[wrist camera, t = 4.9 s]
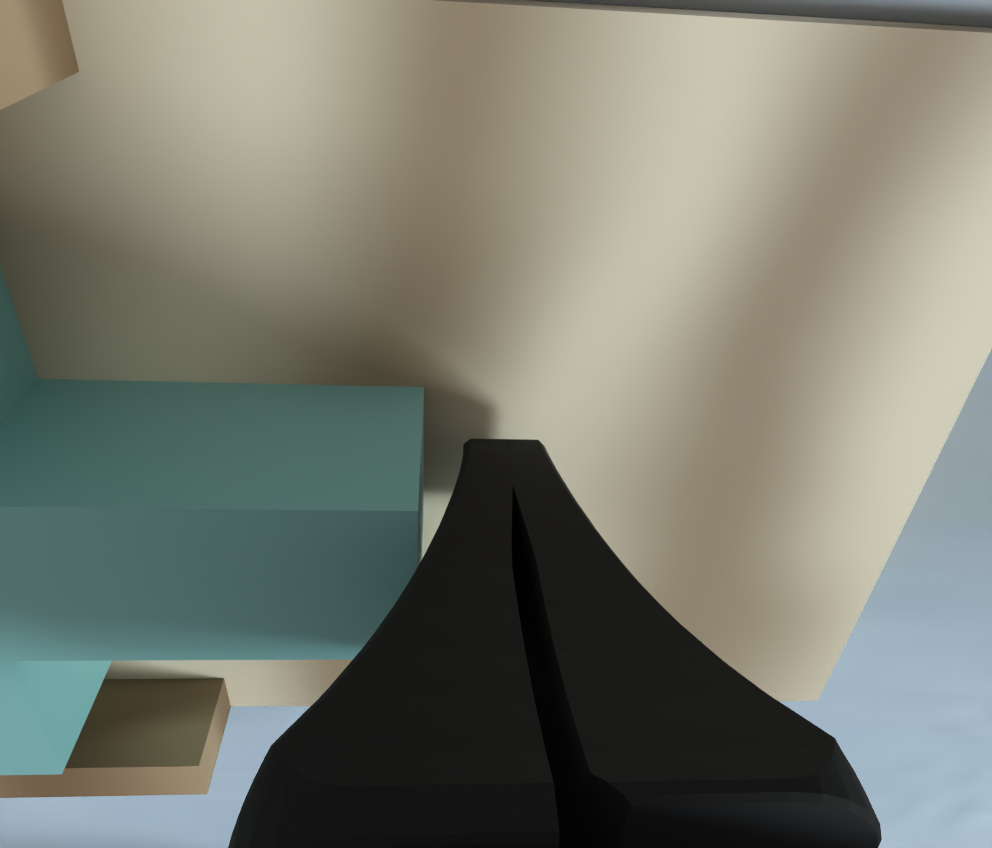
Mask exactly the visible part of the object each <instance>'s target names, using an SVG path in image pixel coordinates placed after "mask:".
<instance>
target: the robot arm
mask: <svg viewBox="0 0 992 848" xmlns="http://www.w3.org/2000/svg"><path fill="white" fill-rule="evenodd" d="M881 840H882V839H881V829H880V823H879V821H878V819H877V817H876V815H875V812H874V810H873V808H872V806H871V804H870V801H869V799H868V797H867V795H866V793H865V791H864V789H863V787H862V785H861V783H860V781H859V779H858V777H857V775H856V774H855V772H854V770H853V768H852V767H851V765H850V763H849V762H848V760H847V759H846V757H845V755H844V754H843V752H842V750H841V749H840V747H839V745H838V743H837V741H836V739H835V738H834V737H832V736H831V735H829V734H828V733H826V732H825V731H823V730H821V729H820V728H818V727H817V726H815V725H814V724H812V723H811V722H809V721H808V720H806V719H805V718H803V717H802V716H800V715H799V714H797V713H795V712H794V711H792V710H791V709H789V708H788V707H786V706H785V705H783V704H782V703H780V702H779V701H777V700H776V699H774V698H773V697H771V696H770V695H768V694H767V693H765V692H764V691H763V690H761V689H760V688H759V687H757V686H756V685H755V684H753V683H752V682H751V681H749V680H748V679H747V678H745V677H744V676H743V675H741V674H740V673H739V672H737V671H736V670H735V669H733V668H732V667H731V666H729V665H728V664H727V663H726V662H724V661H723V660H722V659H721V658H719V657H718V656H717V655H716V654H715V653H714V652H712V651H711V650H710V649H709V648H708V647H707V646H705V645H704V644H703V643H702V642H701V641H700V640H698V639H697V638H696V637H695V636H694V635H693V634H691V633H690V632H689V631H688V630H687V629H686V628H685V627H683V626H682V625H681V624H680V623H679V622H678V621H677V620H676V619H675V618H674V617H673V616H672V615H671V614H670V613H669V612H668V611H667V610H666V609H665V608H664V607H663V606H661V605H660V603H659V602H658V601H657V600H656V599H655V598H654V597H653V596H652V595H651V594H650V593H649V592H648V591H647V590H646V589H645V588H644V587H643V586H642V585H641V583H640V582H639V581H638V580H637V579H636V578H635V577H634V576H633V574H632V573H631V572H630V571H629V570H628V569H627V567H626V566H625V565H624V564H623V563H622V562H621V560H620V559H619V558H618V557H617V555H616V554H615V553H614V552H613V550H612V549H611V548H610V547H609V545H608V544H607V543H606V542H605V540H604V539H603V538H602V536H601V535H600V534H599V532H598V531H597V530H596V528H595V527H594V525H593V524H592V523H591V521H590V520H589V518H588V517H587V515H586V514H585V513H584V511H583V510H582V508H581V507H580V506H579V504H578V503H577V501H576V500H575V498H574V497H573V495H572V493H571V492H570V490H569V489H568V487H567V485H566V484H565V482H564V481H563V479H562V477H561V476H560V474H559V472H558V471H557V469H556V467H555V465H554V464H553V462H552V460H551V458H550V456H549V454H548V452H547V450H546V448H545V446H544V445H543V444H542V443H541V442H540V441H539V440H528V439H469V440H468V441H467V442H465V443H464V444H463V457H462V463H461V467H460V471H459V475H458V478H457V481H456V484H455V487H454V490H453V493H452V496H451V498H450V501H449V503H448V506H447V508H446V510H445V513H444V515H443V518H442V520H441V522H440V525H439V527H438V529H437V531H436V533H435V535H434V537H433V539H432V541H431V543H430V545H429V547H428V549H427V551H426V553H425V555H424V557H423V559H422V560H421V562H420V564H419V566H418V567H417V569H416V571H415V573H414V574H413V576H412V578H411V579H410V581H409V583H408V584H407V586H406V587H405V589H404V591H403V592H402V594H401V595H400V597H399V598H398V600H397V601H396V603H395V604H394V606H393V607H392V609H391V610H390V612H389V613H388V614H387V616H386V617H385V619H384V620H383V621H382V623H381V624H380V626H379V627H378V628H377V630H376V631H375V633H374V634H373V635H372V636H371V638H370V639H369V640H368V642H367V643H366V644H365V646H364V647H363V648H362V649H361V651H360V652H359V653H358V654H357V655H356V656H355V658H354V659H353V660H352V661H351V662H350V663H349V665H348V666H347V667H346V668H345V669H344V670H343V672H342V673H341V674H340V675H339V676H338V677H337V679H336V680H335V681H334V682H333V683H332V684H331V686H330V687H329V688H328V689H327V690H326V691H325V692H324V693H323V694H322V695H321V696H320V698H319V699H318V700H317V701H316V702H315V703H314V704H313V705H312V706H311V707H310V708H309V709H308V710H307V711H306V712H305V713H304V714H303V715H302V716H301V717H300V718H299V719H298V720H297V721H296V722H295V723H294V724H293V725H291V726H290V727H289V728H288V729H287V730H286V731H285V732H284V733H283V734H282V735H281V736H280V737H279V738H278V739H277V740H276V741H275V742H274V743H273V744H272V745H271V747H270V749H269V751H268V752H267V754H266V756H265V758H264V760H263V762H262V764H261V766H260V768H259V770H258V772H257V774H256V776H255V778H254V780H253V783H252V785H251V787H250V789H249V792H248V794H247V796H246V798H245V801H244V803H243V806H242V808H241V811H240V813H239V816H238V819H237V822H236V825H235V828H234V830H233V833H232V836H231V840H230V843H229V847H228V848H878V846H879V844H880V842H881Z"/></svg>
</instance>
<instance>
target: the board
mask: <svg viewBox="0 0 992 848" xmlns="http://www.w3.org/2000/svg"><path fill="white" fill-rule="evenodd" d="M0 268H1V271H2V274H3V276H4V279H5V282H6V285H7V288H8V291H9V294H10V297H11V300H12V303H13V306H14V309H15V312H16V315H17V318H18V321H19V324H20V327H21V329H22V332H23V335H24V338H25V341H26V344H27V347H28V350H29V353H30V356H31V359H32V362H33V365H34V368H35V371H36V374H37V377H38V379H73V380H119V381H166V382H212V383H258V384H304V385H350V386H396V387H424V528H423V552H422V559H423V557H424V555H425V553H426V551H427V549H428V547H429V545H430V543H431V541H432V539H433V537H434V535H435V533H436V531H437V529H438V527H439V525H440V522H441V520H442V518H443V515H444V513H445V510H446V508H447V506H448V503H449V501H450V498H451V496H452V493H453V490H454V487H455V484H456V481H457V478H458V475H459V471H460V467H461V463H462V457H463V444H464V443H465V442H467V441H468V440H469V439H528V440H539V441H540V442H541V443H542V444H543V445H544V446H545V448H546V450H547V452H548V454H549V456H550V458H551V460H552V462H553V464H554V465H555V467H556V469H557V471H558V472H559V474H560V476H561V477H562V479H563V481H564V482H565V484H566V485H567V487H568V489H569V490H570V492H571V493H572V495H573V497H574V498H575V500H576V501H577V503H578V504H579V506H580V507H581V508H582V510H583V511H584V513H585V514H586V515H587V517H588V518H589V520H590V521H591V523H592V524H593V525H594V527H595V528H596V530H597V531H598V532H599V534H600V535H601V536H602V538H603V539H604V540H605V542H606V543H607V544H608V545H609V547H610V548H611V549H612V550H613V552H614V553H615V554H616V555H617V557H618V558H619V559H620V560H621V562H622V563H623V564H624V565H625V566H626V567H627V569H628V570H629V571H630V572H631V573H632V574H633V576H634V577H635V578H636V579H637V580H638V581H639V582H640V583H641V585H642V586H643V587H644V588H645V589H646V590H647V591H648V592H649V593H650V594H651V595H652V596H653V597H654V598H655V599H656V600H657V601H658V602H659V603H660V605H661V606H663V607H664V608H665V609H666V610H667V611H668V612H669V613H670V614H671V615H672V616H673V617H674V618H675V619H676V620H677V621H678V622H679V623H680V624H681V625H682V626H683V627H685V628H686V629H687V630H688V631H689V632H690V633H691V634H693V635H694V636H695V637H696V638H697V639H698V640H700V641H701V642H702V643H703V644H704V645H705V646H707V647H708V648H709V649H710V650H711V651H712V652H714V653H715V654H716V655H717V656H718V657H719V658H721V659H722V660H723V661H724V662H726V663H727V664H728V665H729V666H731V667H732V668H733V669H735V670H736V671H737V672H739V673H740V674H741V675H743V676H744V677H745V678H747V679H748V680H749V681H751V682H752V683H753V684H755V685H756V686H757V687H759V688H760V689H761V690H763V691H764V692H765V693H767V694H768V695H770V696H771V697H773V698H774V699H776V700H777V701H818V699H819V697H820V695H821V693H822V691H823V689H824V687H825V685H826V683H827V681H828V679H829V677H830V675H831V673H832V671H833V669H834V667H835V665H836V663H837V661H838V659H839V657H840V655H841V653H842V651H843V649H844V647H845V644H846V642H847V640H848V638H849V636H850V634H851V632H852V630H853V628H854V626H855V624H856V622H857V620H858V618H859V616H860V614H861V612H862V610H863V608H864V606H865V604H866V602H867V600H868V598H869V596H870V594H871V592H872V590H873V588H874V586H875V584H876V582H877V580H878V578H879V576H880V574H881V572H882V570H883V567H884V565H885V563H886V561H887V559H888V557H889V555H890V553H891V551H892V549H893V547H894V545H895V543H896V541H897V539H898V537H899V535H900V533H901V531H902V529H903V527H904V525H905V523H906V521H907V519H908V517H909V515H910V513H911V511H912V509H913V507H914V505H915V503H916V501H917V499H918V497H919V495H920V493H921V490H922V488H923V486H924V484H925V482H926V480H927V478H928V476H929V474H930V472H931V470H932V468H933V466H934V464H935V462H936V460H937V458H938V456H939V454H940V452H941V450H942V448H943V446H944V444H945V442H946V440H947V438H948V436H949V434H950V432H951V430H952V428H953V426H954V424H955V422H956V420H957V418H958V416H959V413H960V411H961V409H962V407H963V405H964V403H965V401H966V399H967V397H968V395H969V393H970V391H971V389H972V387H973V385H974V383H975V381H976V379H977V377H978V375H979V373H980V371H981V369H982V367H983V365H984V363H985V361H986V359H987V357H988V355H989V353H990V351H991V349H992V28H989V27H973V26H956V25H939V24H922V23H905V22H888V21H871V20H854V19H837V18H820V17H803V16H786V15H769V14H752V13H735V12H718V11H701V10H685V9H668V8H651V7H634V6H617V5H600V4H583V3H566V2H549V1H532V0H0ZM352 660H353V659H351V660H139V661H112V662H111V664H110V666H109V669H108V671H107V673H106V675H105V678H104V680H103V682H102V684H101V687H100V689H99V691H98V694H97V696H96V698H95V700H94V703H93V705H92V707H91V709H90V712H89V714H88V716H87V719H86V721H85V723H84V725H83V728H82V730H81V732H80V734H79V737H78V739H77V741H76V744H75V746H74V748H73V750H72V753H71V755H70V757H69V760H68V762H67V764H66V766H65V769H64V771H63V773H62V774H55V775H0V798H17V797H72V796H128V795H184V794H207V793H208V789H209V786H210V782H211V778H212V775H213V771H214V767H215V763H216V760H217V756H218V752H219V748H220V745H221V741H222V737H223V734H224V730H225V726H226V722H227V719H228V715H229V711H230V708H231V706H312V705H313V704H314V703H315V702H316V701H317V700H318V699H319V698H320V696H321V695H322V694H323V693H324V692H325V691H326V690H327V689H328V688H329V687H330V686H331V684H332V683H333V682H334V681H335V680H336V679H337V677H338V676H339V675H340V674H341V673H342V672H343V670H344V669H345V668H346V667H347V666H348V665H349V663H350V662H351V661H352Z"/></svg>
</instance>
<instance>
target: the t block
mask: <svg viewBox="0 0 992 848" xmlns="http://www.w3.org/2000/svg"><path fill="white" fill-rule="evenodd" d="M423 528H424V387H396V386H350V385H304V384H258V383H212V382H166V381H119V380H73V379H38V377H37V374H36V371H35V368H34V365H33V362H32V359H31V356H30V353H29V350H28V347H27V344H26V341H25V338H24V335H23V332H22V329H21V327H20V324H19V321H18V318H17V315H16V312H15V309H14V306H13V303H12V300H11V297H10V294H9V291H8V288H7V285H6V282H5V279H4V276H3V274H2V271H1V268H0V775H55V774H62V773H63V771H64V769H65V766H66V764H67V762H68V760H69V757H70V755H71V753H72V750H73V748H74V746H75V744H76V741H77V739H78V737H79V734H80V732H81V730H82V728H83V725H84V723H85V721H86V719H87V716H88V714H89V712H90V709H91V707H92V705H93V703H94V700H95V698H96V696H97V694H98V691H99V689H100V687H101V684H102V682H103V680H104V678H105V675H106V673H107V671H108V669H109V666H110V664H111V662H112V661H139V660H351V659H354V658H355V656H356V655H357V654H358V653H359V652H360V651H361V649H362V648H363V647H364V646H365V644H366V643H367V642H368V640H369V639H370V638H371V636H372V635H373V634H374V633H375V631H376V630H377V628H378V627H379V626H380V624H381V623H382V621H383V620H384V619H385V617H386V616H387V614H388V613H389V612H390V610H391V609H392V607H393V606H394V604H395V603H396V601H397V600H398V598H399V597H400V595H401V594H402V592H403V591H404V589H405V587H406V586H407V584H408V583H409V581H410V579H411V578H412V576H413V574H414V573H415V571H416V569H417V567H418V566H419V564H420V562H421V560H422V552H423Z"/></svg>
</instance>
